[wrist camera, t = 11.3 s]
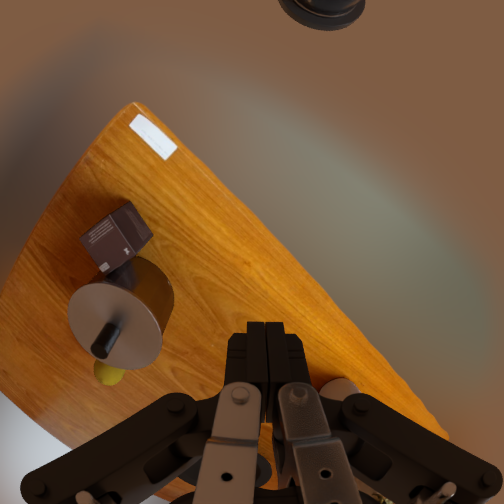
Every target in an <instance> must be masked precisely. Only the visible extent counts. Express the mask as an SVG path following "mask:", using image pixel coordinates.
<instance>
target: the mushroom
mask: <svg viewBox="0 0 504 504" xmlns="http://www.w3.org/2000/svg"><path fill="white" fill-rule="evenodd" d="M354 479H355V482H356V485H357V488H358V490H360V491H362V492H364V493H366V494H368V495H370V496H371V497H373V498H374V499H375V500H377V501H378V502H380V503H381V504H392V503H393V502H392V501H390V500H389V499H387V498H383V496H382V495H381V494H380V493H378V492H377V491H375V490H374V489H372V488H371V487H369V486H368V485H366V484H365V483H363V482H362V481H360V480H359V479H357V478H356V477H355V476H354Z"/></svg>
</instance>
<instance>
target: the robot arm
mask: <svg viewBox="0 0 504 504" xmlns="http://www.w3.org/2000/svg"><path fill="white" fill-rule="evenodd" d="M293 1H294V2H295V3H296V4H297V5H298V6H299V7H300V8H301V9H303V10H304V11H306V12H308V13H310V14H312V15H315V16H318V17H323V18H338V17H342V16H345V15H347V14H348V13H350V12H351V11H352V10H353V9H354V8H355V6H356V5H357V3H358V2H359V1H360V0H293ZM265 412H266V423H272V425H273V433H272V444H273V451H274V457H275V463H276V469H277V476H278V490H268V489H263V488H258V487H254V486H255V474H256V462H257V450H258V438H259V435H260V428H261V423H264V420H265ZM202 456H203V457H202ZM201 457H202V461H201V466H200V470H199V475H198V480H197V484H196V489H195V491H193V492H190V493H187V494H185V495H183V496H180V497H179V498H177V499H175V500H174V501H172V502H171V503H169V504H381V503H380V502H378V501H377V500H375V499H374V498H373V497H371V496H370V495H368V494H366V493H364V492H362V491H360V490H358V488H357V485H356V482H355V479H354V476H355V477H356V478H357V479H359V480H360V481H362V482H363V483H365V484H366V485H368V486H369V487H371V488H372V489H374V490H375V491H377V492H378V493H380V494H381V495H383V496H384V497H386V498H387V499H389V500H390V501H392V502H394V503H395V504H485V503H486V502H487V501H489V500H490V499H491V498H492V497H493V496H495V495H496V494H497V493H498V492H499V491H500V489H501V487H502V482H503V478H502V474H501V472H500V471H499V469H497V467H495V466H494V465H492V464H490V463H488V462H486V461H484V460H482V459H480V458H478V457H476V456H474V455H472V454H471V453H469V452H467V451H465V450H463V449H461V448H459V447H458V446H456V445H454V444H452V443H450V442H448V441H447V440H445V439H443V438H441V437H439V436H438V435H436V434H434V433H432V432H431V431H429V430H427V429H425V428H424V427H422V426H420V425H419V424H417V423H415V422H413V421H412V420H410V419H408V418H407V417H405V416H403V415H402V414H400V413H398V412H397V411H395V410H393V409H392V408H390V407H388V406H387V405H385V404H383V403H382V402H380V401H379V400H377V399H375V398H374V397H372V396H370V395H368V394H364V393H354V394H351V395H349V396H347V397H346V398H345V399H344V400H343V401H340V400H334V399H329V398H326V397H323V396H321V395H320V394H318V392H317V391H316V389H315V388H314V387H312V385H311V381H310V376H309V371H308V367H307V362H306V359H305V353H304V349H303V344H302V341H301V340H300V339H299V337H298V336H297V335H296V334H285V331H284V325H283V322H265V324H264V322H247V333H234V334H233V335H232V336H231V338H230V339H229V340H228V348H227V359H226V369H225V380H224V386H223V389H222V390H221V391H220V392H219V393H218V394H217V395H215V396H214V397H211V398H209V399H204V400H199V401H195V400H194V399H193V398H192V397H191V396H189V395H187V394H184V393H170V394H166V395H164V396H162V397H161V398H159V399H158V400H156V401H155V402H153V403H151V404H150V405H148V406H147V407H145V408H144V409H142V410H140V411H139V412H137V413H136V414H134V415H132V416H131V417H129V418H127V419H126V420H124V421H122V422H121V423H119V424H117V425H116V426H114V427H112V428H111V429H109V430H107V431H106V432H104V433H102V434H100V435H99V436H97V437H95V438H93V439H92V440H90V441H88V442H86V443H85V444H83V445H81V446H79V447H77V448H76V449H74V450H72V451H70V452H68V453H67V454H65V455H63V456H61V457H59V458H57V459H55V460H53V461H51V462H49V463H47V464H46V465H43V466H41V467H40V468H38V469H36V470H34V471H31V472H30V473H28V474H27V475H25V476H24V478H23V479H22V481H21V485H20V491H21V494H22V497H23V499H24V500H25V502H27V503H28V504H139V503H141V502H143V501H144V500H145V499H147V498H148V497H150V496H151V495H153V494H154V493H156V492H157V491H158V490H160V489H161V488H163V487H164V486H165V485H167V484H168V483H169V482H171V481H172V480H174V479H175V478H176V477H178V476H179V475H180V474H181V473H183V472H184V471H185V470H187V469H188V468H189V467H191V466H192V465H193V464H194V463H196V462H197V461H198V460H199V459H200V458H201Z"/></svg>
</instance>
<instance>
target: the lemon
mask: <svg viewBox="0 0 504 504" xmlns="http://www.w3.org/2000/svg"><path fill="white" fill-rule="evenodd" d="M124 373H125V369H119V368H115V367H112V366H109V365H107V364H105V363H103V362H101V361H99V360H98V359H96V361H95V363H94V375H95V377H96V379H97V380H98V381H99V382H100V383H102V384H104V385H108V386H111V385H114V384H116V383H118V382H119V381H120V380H121V379H122V377H123V375H124Z"/></svg>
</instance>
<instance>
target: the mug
mask: <svg viewBox="0 0 504 504" xmlns="http://www.w3.org/2000/svg"><path fill="white" fill-rule="evenodd" d="M354 393H361V392H360V391H359V389H358V388H357V386H356V385H355V384H354V383H353V382H351V381H350V380H348V379H346V378H339V379H335V380H332V381H330V382H328V383H327V384H325V385H324V386H323V387H322V388H321V390H320V393H319V394H320V395H321V396H323V397H326V398H329V399H334V400H340V401H343V400H344V399H345V398H346V397H347V396H349V395H351V394H354Z"/></svg>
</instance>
